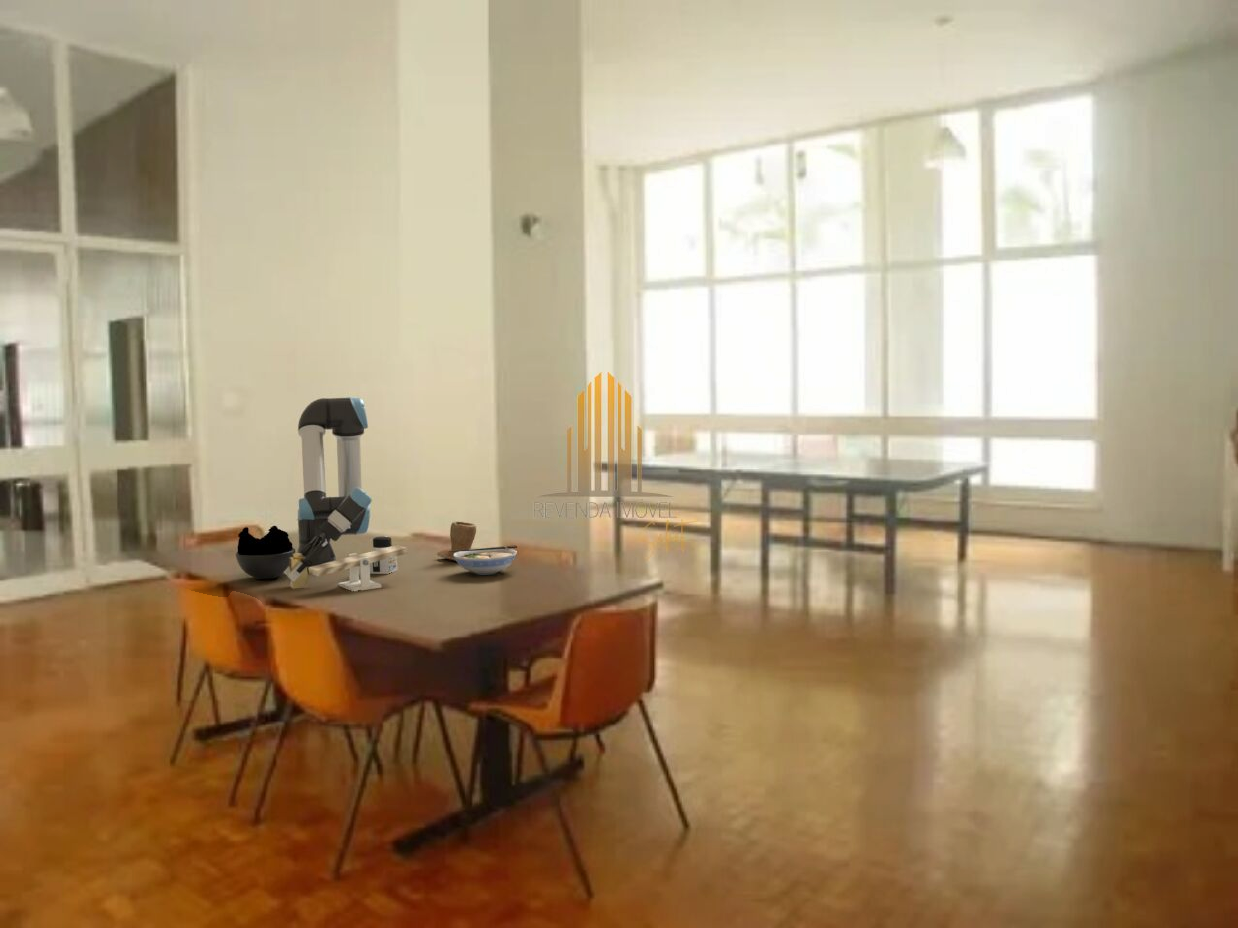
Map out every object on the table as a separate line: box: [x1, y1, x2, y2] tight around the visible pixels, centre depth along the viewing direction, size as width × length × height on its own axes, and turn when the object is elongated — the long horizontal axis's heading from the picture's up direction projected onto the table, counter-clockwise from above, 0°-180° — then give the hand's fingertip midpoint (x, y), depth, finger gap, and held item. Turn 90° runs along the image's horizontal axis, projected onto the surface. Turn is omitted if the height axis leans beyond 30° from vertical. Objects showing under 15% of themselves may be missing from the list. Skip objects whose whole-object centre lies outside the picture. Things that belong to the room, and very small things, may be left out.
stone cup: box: [436, 520, 477, 562], centre depth 386 cm, size 15×12×15 cm
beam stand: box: [338, 553, 382, 592], centre depth 338 cm, size 10×13×10 cm
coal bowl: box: [235, 525, 296, 580], centre depth 354 cm, size 20×20×19 cm
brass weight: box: [289, 552, 309, 590], centre depth 339 cm, size 5×5×12 cm
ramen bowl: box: [449, 544, 518, 576], centre depth 357 cm, size 25×23×8 cm
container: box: [370, 535, 398, 575], centre depth 364 cm, size 8×8×13 cm
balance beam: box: [307, 544, 408, 577], centre depth 337 cm, size 32×8×2 cm, turn 126°
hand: (288, 577), depth 338 cm, fingers open, 8 cm apart
